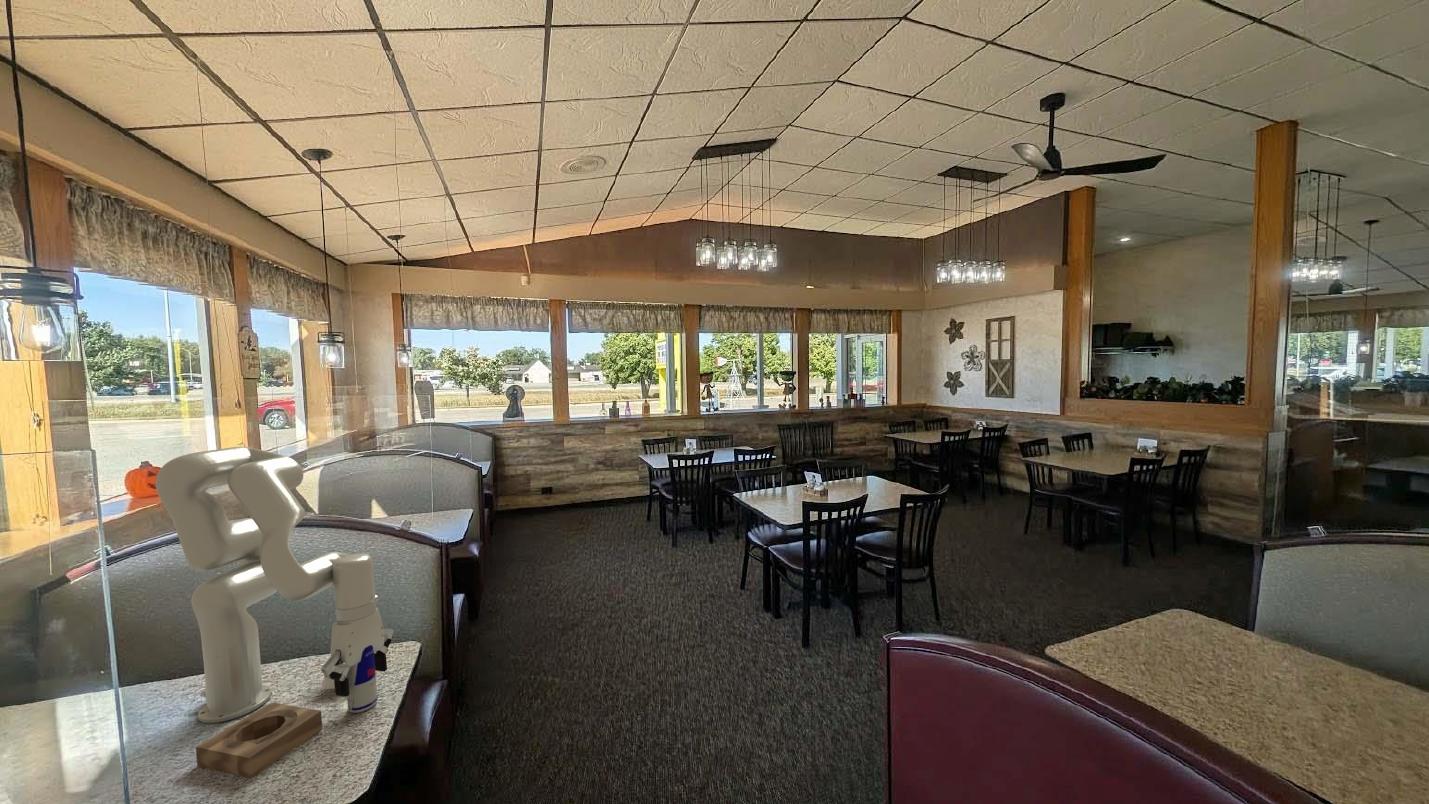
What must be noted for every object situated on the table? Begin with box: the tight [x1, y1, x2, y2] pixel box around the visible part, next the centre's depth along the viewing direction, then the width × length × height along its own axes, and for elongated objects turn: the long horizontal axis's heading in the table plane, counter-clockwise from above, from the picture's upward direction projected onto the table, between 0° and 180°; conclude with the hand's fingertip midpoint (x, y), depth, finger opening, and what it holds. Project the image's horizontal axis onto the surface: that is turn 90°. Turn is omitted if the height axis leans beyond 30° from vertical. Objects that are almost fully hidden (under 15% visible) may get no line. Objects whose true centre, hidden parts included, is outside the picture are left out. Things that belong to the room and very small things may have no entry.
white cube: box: [323, 663, 346, 690], centre depth 129 cm, size 7×5×6 cm
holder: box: [195, 702, 323, 779], centre depth 107 cm, size 14×14×4 cm
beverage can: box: [346, 644, 378, 714], centre depth 119 cm, size 6×6×15 cm
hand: (362, 682), depth 119 cm, fingers open, 9 cm apart
